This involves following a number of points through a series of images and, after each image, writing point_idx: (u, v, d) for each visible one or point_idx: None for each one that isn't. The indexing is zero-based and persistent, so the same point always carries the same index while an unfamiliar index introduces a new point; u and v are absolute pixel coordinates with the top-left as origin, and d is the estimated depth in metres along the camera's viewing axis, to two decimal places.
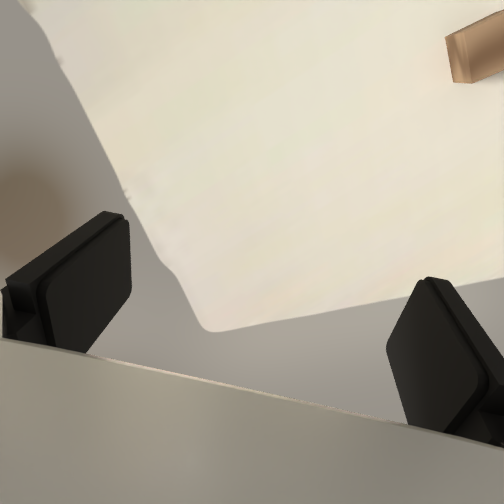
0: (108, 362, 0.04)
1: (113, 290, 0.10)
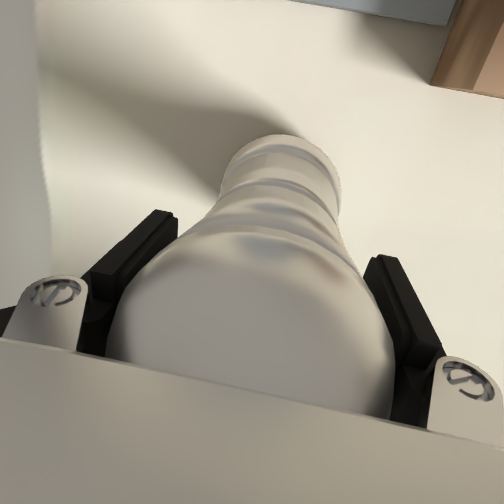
0: (108, 362, 0.04)
1: None
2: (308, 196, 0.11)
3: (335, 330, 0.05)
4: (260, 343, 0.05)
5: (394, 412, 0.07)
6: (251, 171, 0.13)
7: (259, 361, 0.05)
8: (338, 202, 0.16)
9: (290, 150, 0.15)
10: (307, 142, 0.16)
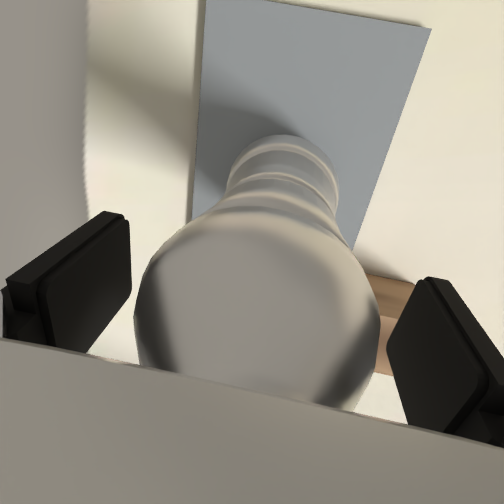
0: (108, 362, 0.04)
1: (113, 290, 0.10)
2: (307, 188, 0.12)
3: (327, 286, 0.07)
4: (267, 293, 0.06)
5: None
6: (256, 167, 0.14)
7: (266, 306, 0.06)
8: (336, 197, 0.17)
9: (291, 148, 0.16)
10: (307, 142, 0.18)
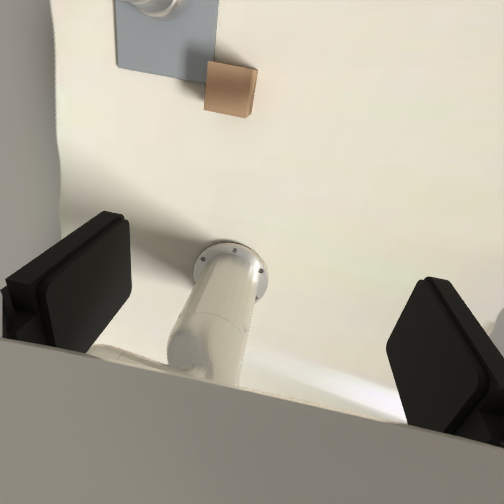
0: (108, 362, 0.04)
1: (113, 290, 0.10)
2: None
3: None
4: None
5: None
6: None
7: None
8: None
9: None
10: None
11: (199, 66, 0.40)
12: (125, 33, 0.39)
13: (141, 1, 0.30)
